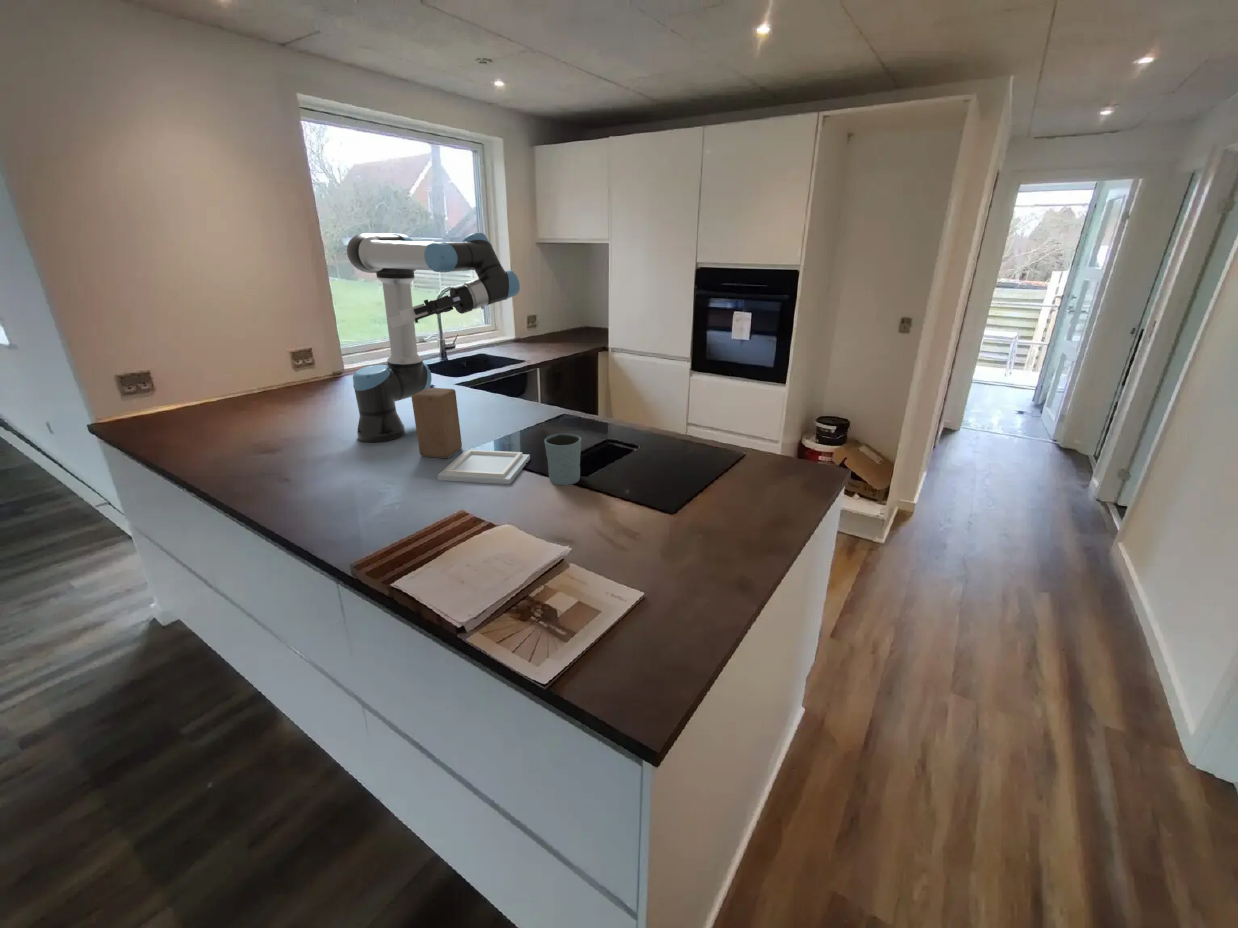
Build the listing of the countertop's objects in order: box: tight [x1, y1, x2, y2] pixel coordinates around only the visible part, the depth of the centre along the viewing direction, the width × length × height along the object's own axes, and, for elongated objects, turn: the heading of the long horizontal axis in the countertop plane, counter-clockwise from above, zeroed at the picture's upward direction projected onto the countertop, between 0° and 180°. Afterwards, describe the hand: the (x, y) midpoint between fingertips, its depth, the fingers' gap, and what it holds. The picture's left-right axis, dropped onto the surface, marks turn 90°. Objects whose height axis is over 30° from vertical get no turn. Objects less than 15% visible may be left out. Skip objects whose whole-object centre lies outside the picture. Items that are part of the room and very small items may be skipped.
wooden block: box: [411, 387, 463, 459], centre depth 169 cm, size 10×10×20 cm
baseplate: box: [437, 449, 531, 485], centre depth 159 cm, size 19×21×2 cm
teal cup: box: [544, 433, 582, 486], centre depth 151 cm, size 10×10×12 cm
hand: (395, 320), depth 143 cm, fingers open, 13 cm apart
